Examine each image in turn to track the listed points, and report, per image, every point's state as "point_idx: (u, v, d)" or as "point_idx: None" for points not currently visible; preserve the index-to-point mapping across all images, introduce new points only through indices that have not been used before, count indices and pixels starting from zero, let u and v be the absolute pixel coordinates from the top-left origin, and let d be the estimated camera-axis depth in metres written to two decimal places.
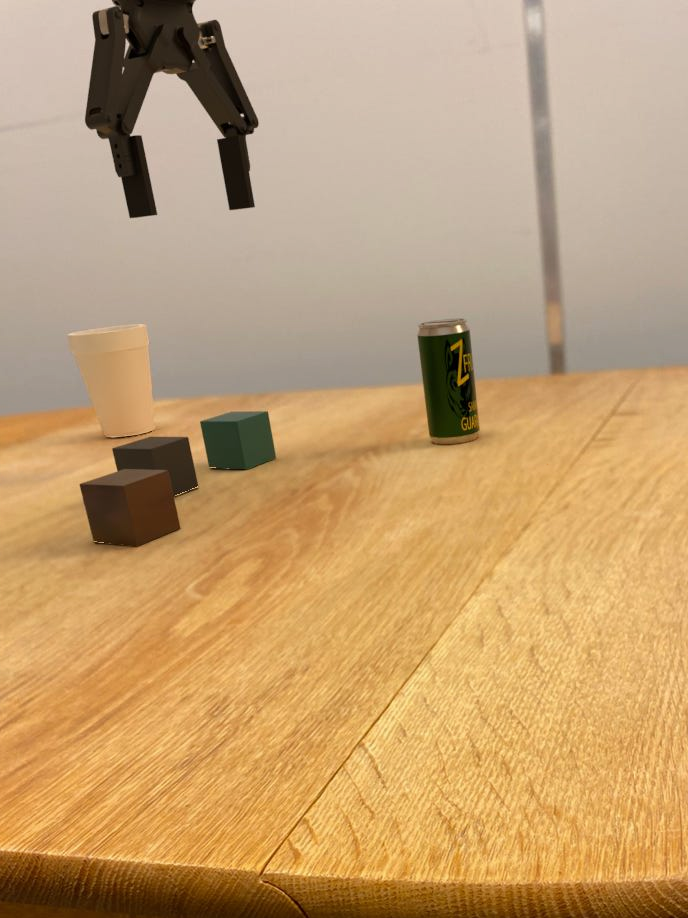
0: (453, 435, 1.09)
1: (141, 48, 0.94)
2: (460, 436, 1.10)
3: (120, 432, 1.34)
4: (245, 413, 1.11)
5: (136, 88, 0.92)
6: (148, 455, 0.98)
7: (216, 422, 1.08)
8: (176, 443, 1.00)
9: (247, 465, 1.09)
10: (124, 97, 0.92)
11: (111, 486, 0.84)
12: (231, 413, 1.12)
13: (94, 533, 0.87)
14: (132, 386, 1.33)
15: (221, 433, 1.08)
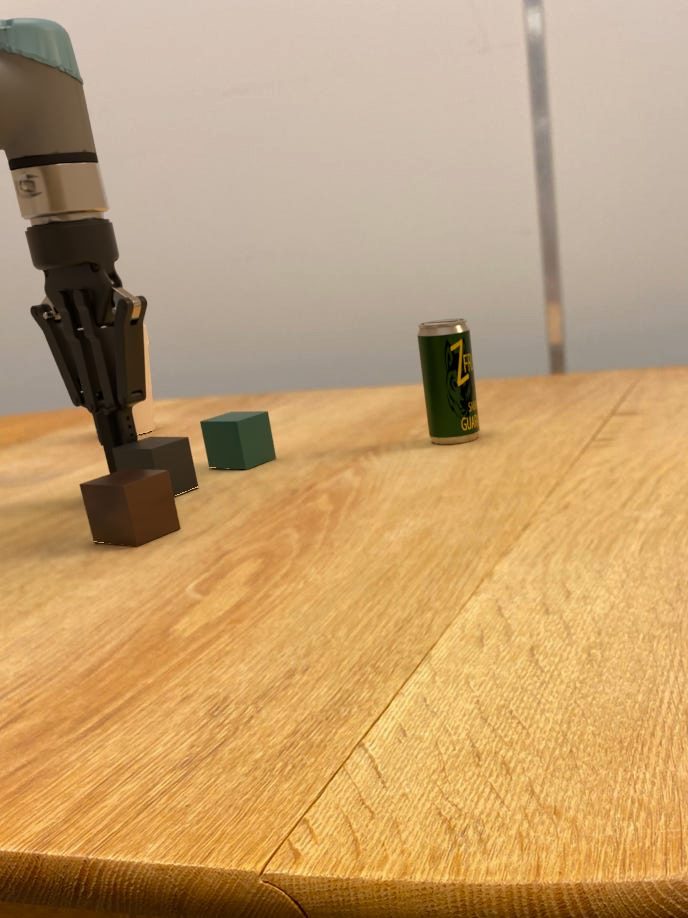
0: (453, 435, 1.09)
1: None
2: (460, 436, 1.10)
3: None
4: (245, 413, 1.11)
5: (78, 368, 0.99)
6: (148, 455, 0.98)
7: (216, 422, 1.08)
8: (176, 443, 1.00)
9: (247, 465, 1.09)
10: None
11: (111, 486, 0.84)
12: (231, 413, 1.12)
13: (94, 533, 0.87)
14: None
15: (221, 433, 1.08)
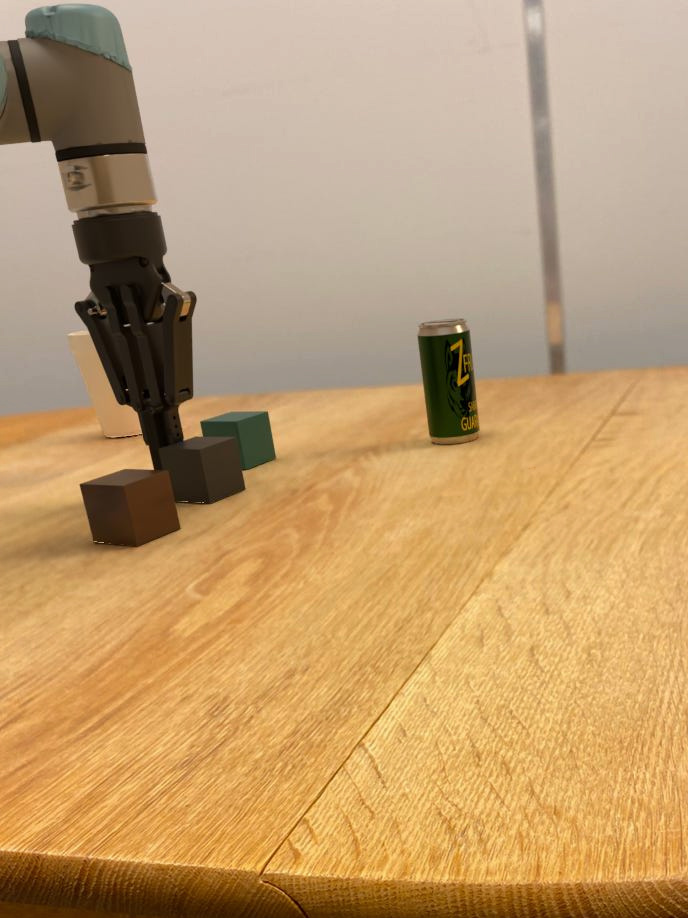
0: (453, 435, 1.09)
1: None
2: (460, 436, 1.10)
3: (120, 432, 1.34)
4: (245, 413, 1.11)
5: (124, 366, 0.97)
6: (197, 456, 0.95)
7: (216, 422, 1.08)
8: (224, 444, 0.97)
9: (247, 465, 1.09)
10: None
11: (111, 486, 0.84)
12: (231, 413, 1.12)
13: (94, 533, 0.87)
14: None
15: (221, 433, 1.08)
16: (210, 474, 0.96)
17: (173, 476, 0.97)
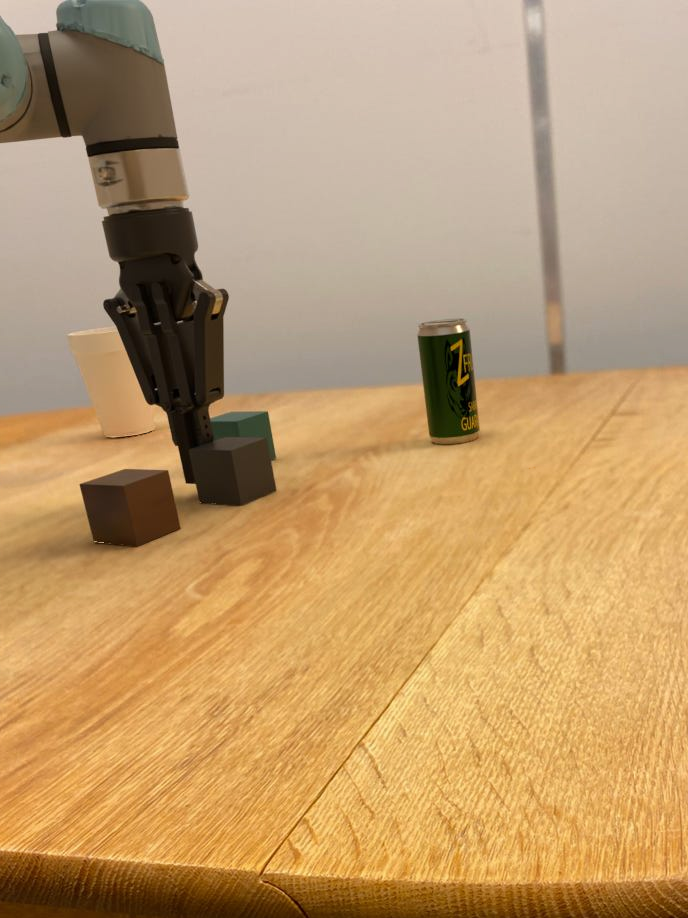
0: (453, 435, 1.09)
1: None
2: (460, 436, 1.10)
3: (120, 432, 1.34)
4: (245, 413, 1.11)
5: (153, 365, 0.95)
6: (228, 457, 0.93)
7: (216, 422, 1.08)
8: (255, 444, 0.95)
9: None
10: None
11: (111, 486, 0.84)
12: (231, 413, 1.12)
13: (94, 533, 0.87)
14: (132, 386, 1.33)
15: (221, 433, 1.08)
16: (241, 475, 0.94)
17: (203, 478, 0.95)
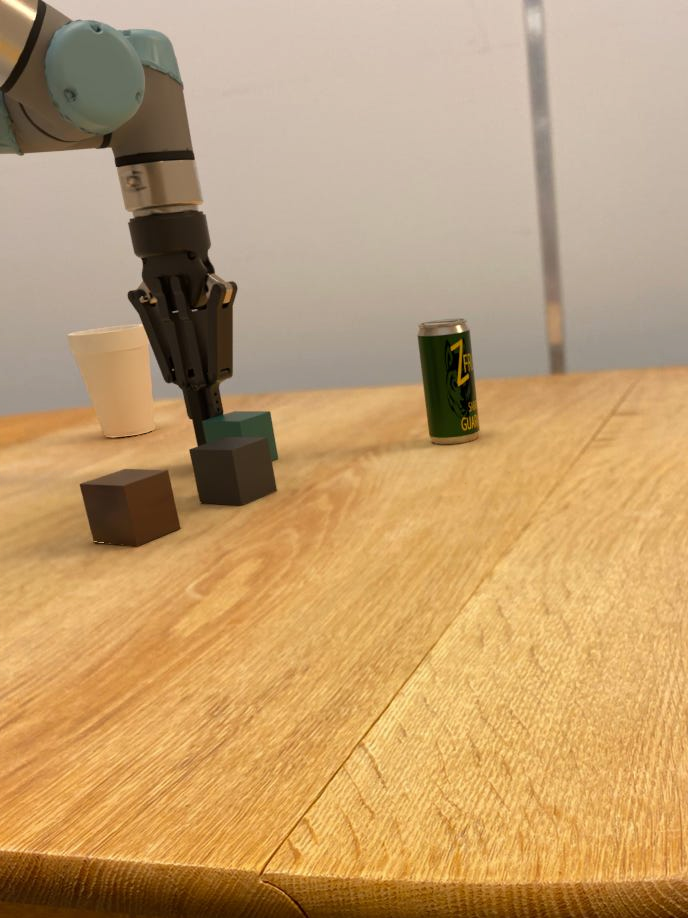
0: (453, 435, 1.09)
1: None
2: (460, 436, 1.10)
3: (120, 432, 1.34)
4: (247, 413, 1.11)
5: (171, 348, 1.09)
6: (229, 457, 0.93)
7: (218, 422, 1.08)
8: (255, 444, 0.95)
9: None
10: None
11: (111, 486, 0.84)
12: (233, 413, 1.12)
13: (94, 533, 0.87)
14: (132, 386, 1.33)
15: (223, 433, 1.08)
16: (242, 475, 0.94)
17: (204, 477, 0.95)
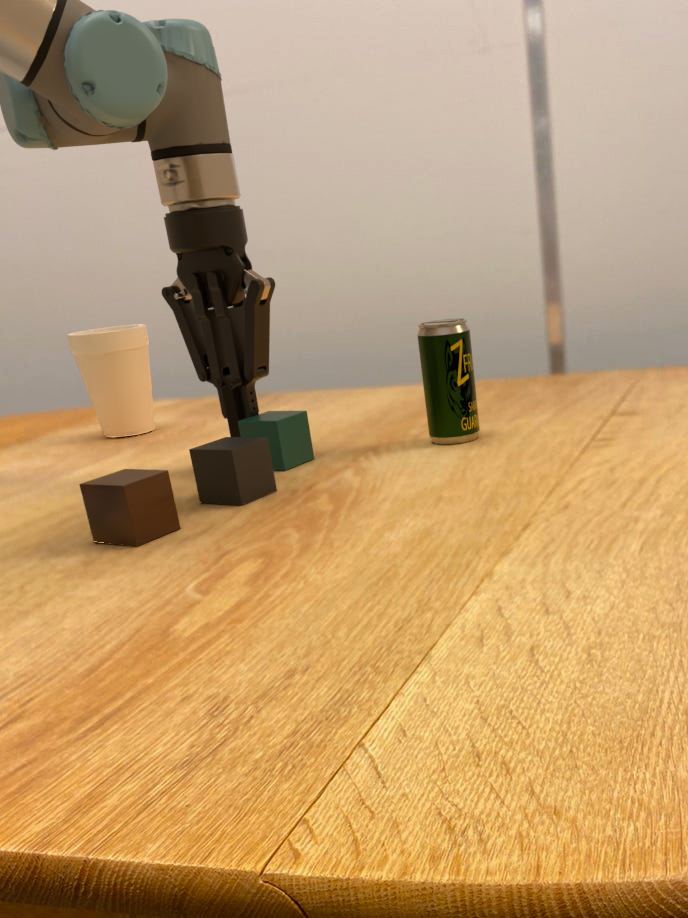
0: (453, 435, 1.09)
1: None
2: (460, 436, 1.10)
3: (120, 432, 1.34)
4: (283, 412, 1.08)
5: (206, 345, 1.07)
6: (229, 457, 0.93)
7: (255, 422, 1.06)
8: (255, 444, 0.95)
9: (286, 466, 1.06)
10: None
11: (111, 486, 0.84)
12: (269, 412, 1.09)
13: (94, 533, 0.87)
14: (132, 386, 1.33)
15: (260, 433, 1.06)
16: (242, 475, 0.94)
17: (204, 477, 0.95)
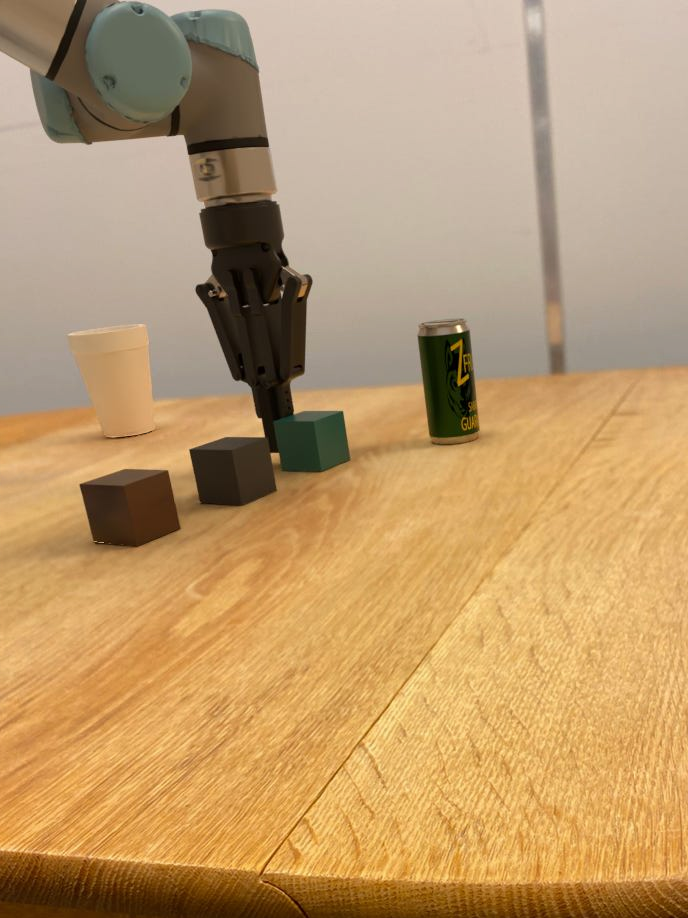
0: (453, 435, 1.09)
1: None
2: (460, 436, 1.10)
3: (120, 432, 1.34)
4: (319, 413, 1.06)
5: (241, 344, 1.04)
6: (229, 457, 0.93)
7: (291, 422, 1.04)
8: (255, 444, 0.95)
9: (323, 467, 1.04)
10: None
11: (111, 486, 0.84)
12: (304, 413, 1.07)
13: (94, 533, 0.87)
14: (132, 386, 1.33)
15: (296, 434, 1.04)
16: (242, 475, 0.94)
17: (204, 477, 0.95)
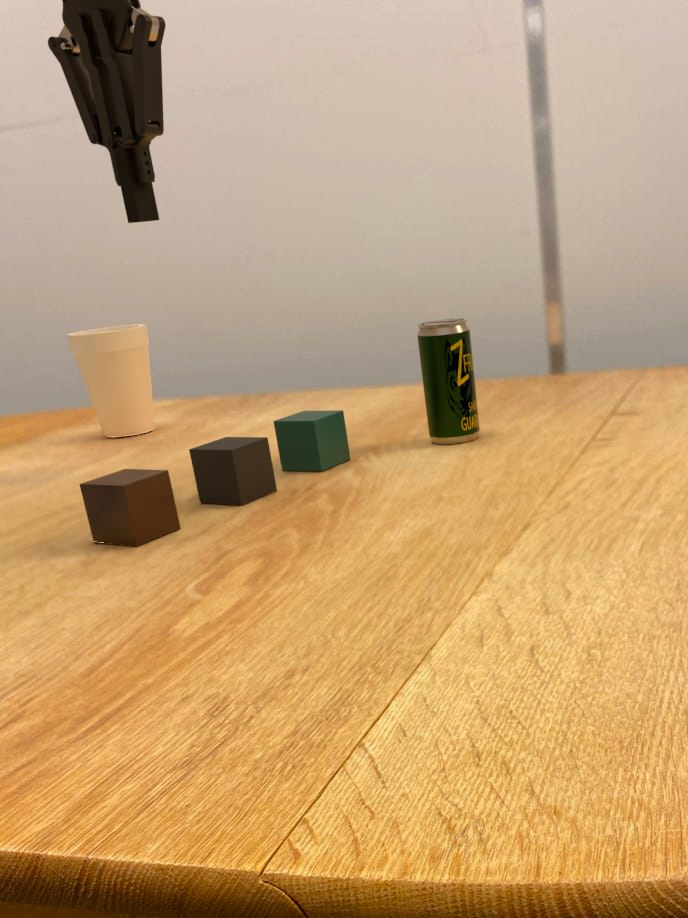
0: (453, 435, 1.09)
1: None
2: (460, 436, 1.10)
3: (120, 432, 1.34)
4: (319, 412, 1.06)
5: (95, 100, 0.99)
6: (229, 457, 0.93)
7: (291, 422, 1.04)
8: (255, 444, 0.95)
9: (323, 467, 1.04)
10: None
11: (111, 486, 0.84)
12: (304, 412, 1.07)
13: (94, 533, 0.87)
14: (132, 386, 1.33)
15: (296, 434, 1.04)
16: (242, 475, 0.94)
17: (204, 477, 0.95)
